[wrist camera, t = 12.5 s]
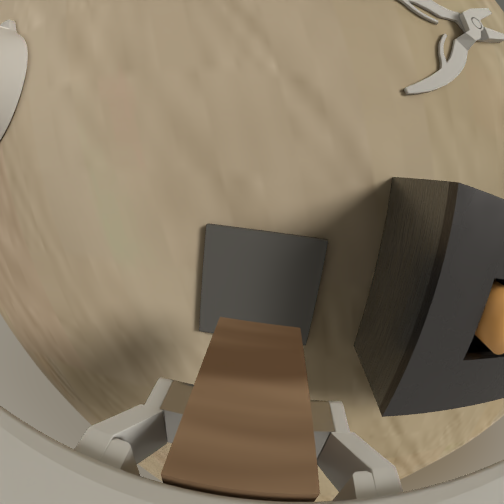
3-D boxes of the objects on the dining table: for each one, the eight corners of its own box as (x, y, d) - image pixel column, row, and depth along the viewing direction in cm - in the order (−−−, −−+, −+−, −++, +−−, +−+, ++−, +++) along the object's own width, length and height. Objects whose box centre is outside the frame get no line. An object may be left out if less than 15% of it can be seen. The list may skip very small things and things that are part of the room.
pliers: (345, -17, 13) (470, -19, 10) (341, -6, 14) (462, -12, 12) (415, 93, 15) (522, 70, 12) (406, 98, 16) (513, 73, 14)
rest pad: (200, 327, 22) (199, 330, 21) (208, 223, 20) (206, 224, 19) (305, 341, 21) (305, 345, 21) (326, 239, 19) (327, 241, 19)
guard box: (353, 345, 21) (382, 416, 13) (392, 177, 18) (458, 182, 10) (470, 347, 21) (512, 395, 13) (510, 213, 17) (574, 233, 10)
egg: (437, 311, 17) (481, 356, 11) (452, 263, 16) (505, 296, 10) (470, 313, 17) (514, 352, 11) (485, 268, 16) (536, 299, 10)
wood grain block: (219, 316, 12) (161, 473, 5) (300, 327, 12) (320, 493, 5) (214, 377, 13) (173, 520, 6) (285, 387, 13) (286, 535, 5)
